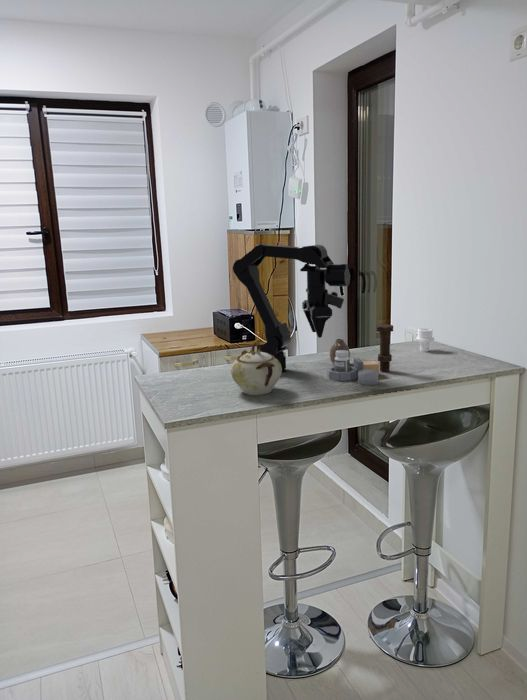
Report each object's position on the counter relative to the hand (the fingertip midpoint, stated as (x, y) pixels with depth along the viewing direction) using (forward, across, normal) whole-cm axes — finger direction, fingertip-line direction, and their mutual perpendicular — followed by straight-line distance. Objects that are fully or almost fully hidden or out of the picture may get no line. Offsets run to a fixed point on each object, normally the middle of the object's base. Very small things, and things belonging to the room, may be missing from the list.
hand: (316, 334), depth 188 cm
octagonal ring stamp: (+13, -5, -10) cm, 17 cm away
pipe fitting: (+13, +24, -45) cm, 53 cm away
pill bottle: (+13, -5, -7) cm, 16 cm away
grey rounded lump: (+13, -13, -13) cm, 23 cm away
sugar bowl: (+13, -15, +21) cm, 29 cm away
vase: (+13, +11, -10) cm, 20 cm away
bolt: (+13, -1, -22) cm, 26 cm away
